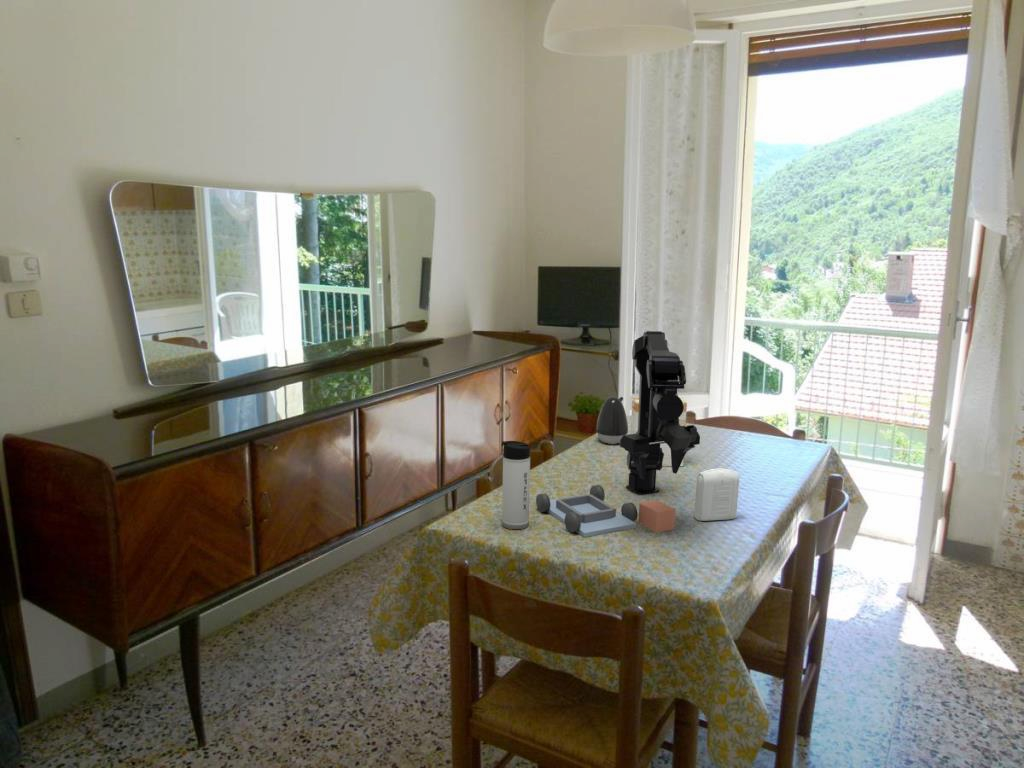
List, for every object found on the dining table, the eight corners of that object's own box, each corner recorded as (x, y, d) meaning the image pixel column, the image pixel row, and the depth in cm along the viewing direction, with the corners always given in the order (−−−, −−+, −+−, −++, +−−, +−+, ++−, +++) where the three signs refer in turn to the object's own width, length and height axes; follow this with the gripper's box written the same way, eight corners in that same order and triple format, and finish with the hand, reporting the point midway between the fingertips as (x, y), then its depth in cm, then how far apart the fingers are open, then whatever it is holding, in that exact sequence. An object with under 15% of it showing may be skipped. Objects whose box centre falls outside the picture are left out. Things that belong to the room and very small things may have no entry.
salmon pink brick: (655, 519, 182) (657, 499, 181) (674, 529, 176) (675, 509, 175) (638, 522, 180) (639, 502, 179) (656, 533, 173) (657, 512, 172)
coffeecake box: (678, 460, 230) (681, 397, 226) (684, 467, 223) (687, 402, 219) (628, 459, 229) (631, 396, 225) (633, 467, 222) (636, 401, 218)
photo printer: (730, 513, 186) (733, 465, 184) (739, 519, 182) (742, 470, 179) (691, 516, 184) (694, 467, 181) (699, 523, 180) (702, 472, 177)
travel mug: (499, 520, 179) (500, 438, 176) (527, 519, 180) (529, 438, 176) (501, 530, 173) (502, 446, 169) (530, 529, 174) (531, 445, 170)
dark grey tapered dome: (633, 442, 248) (635, 396, 245) (616, 448, 241) (617, 401, 238) (607, 436, 255) (609, 392, 252) (589, 442, 247) (591, 396, 244)
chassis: (591, 496, 196) (591, 480, 195) (641, 526, 177) (642, 508, 176) (532, 506, 189) (532, 489, 188) (578, 538, 169) (579, 519, 169)
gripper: (649, 422, 161) (646, 492, 164) (718, 413, 169) (713, 480, 172) (620, 410, 171) (617, 477, 174) (686, 403, 179) (682, 467, 182)
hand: (658, 475), depth 175 cm, fingers open, 9 cm apart
